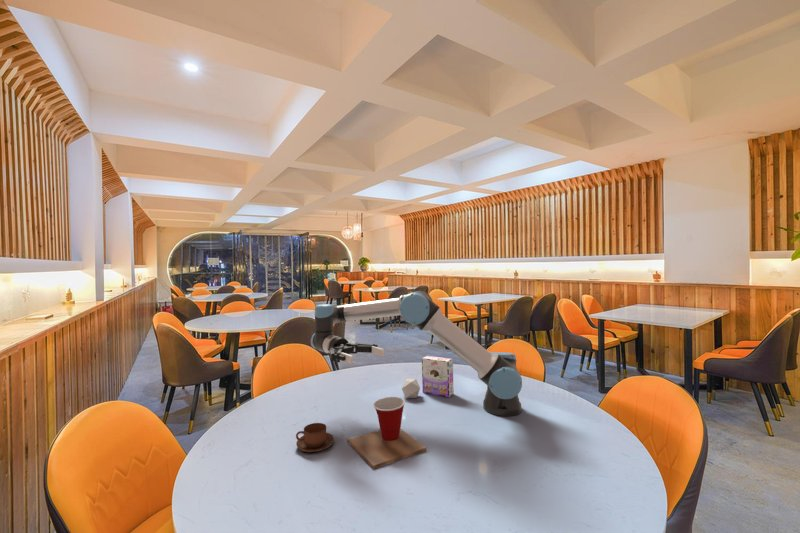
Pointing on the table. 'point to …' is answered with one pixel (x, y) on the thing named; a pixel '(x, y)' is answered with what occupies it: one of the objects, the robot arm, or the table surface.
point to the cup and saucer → (314, 438)
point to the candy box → (437, 376)
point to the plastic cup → (389, 416)
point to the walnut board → (385, 448)
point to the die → (410, 388)
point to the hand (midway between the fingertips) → (368, 356)
